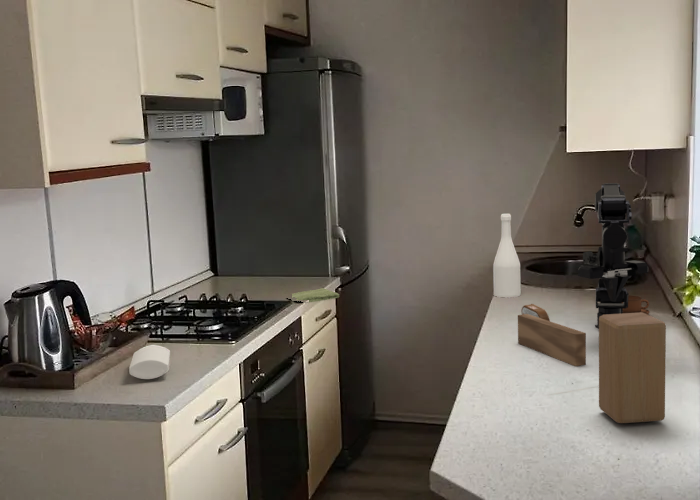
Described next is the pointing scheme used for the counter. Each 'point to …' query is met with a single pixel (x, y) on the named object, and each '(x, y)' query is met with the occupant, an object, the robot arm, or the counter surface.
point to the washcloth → (315, 295)
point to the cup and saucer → (636, 305)
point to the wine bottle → (506, 264)
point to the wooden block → (632, 367)
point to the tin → (535, 311)
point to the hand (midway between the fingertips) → (613, 301)
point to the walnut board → (552, 339)
